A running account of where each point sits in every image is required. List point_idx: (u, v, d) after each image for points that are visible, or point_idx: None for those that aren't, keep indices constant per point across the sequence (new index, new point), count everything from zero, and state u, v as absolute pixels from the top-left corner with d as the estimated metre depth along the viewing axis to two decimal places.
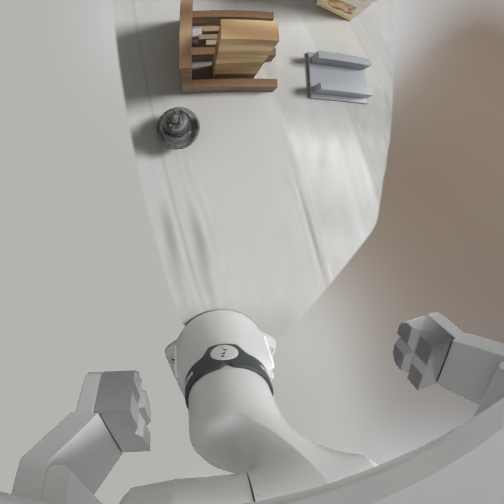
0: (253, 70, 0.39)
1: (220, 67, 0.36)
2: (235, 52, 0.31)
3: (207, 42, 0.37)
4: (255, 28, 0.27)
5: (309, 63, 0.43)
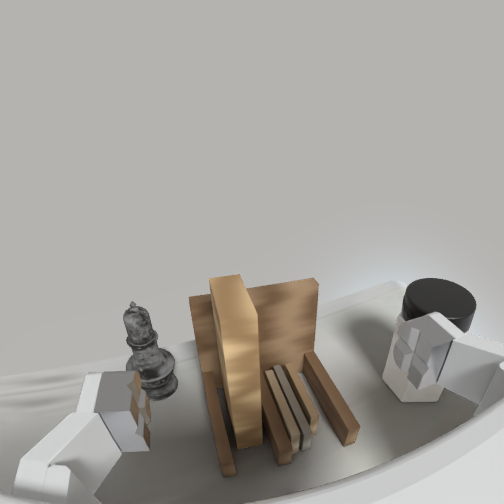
0: (232, 418, 0.25)
1: (222, 373, 0.29)
2: (217, 333, 0.26)
3: (268, 371, 0.32)
4: (233, 297, 0.23)
5: None
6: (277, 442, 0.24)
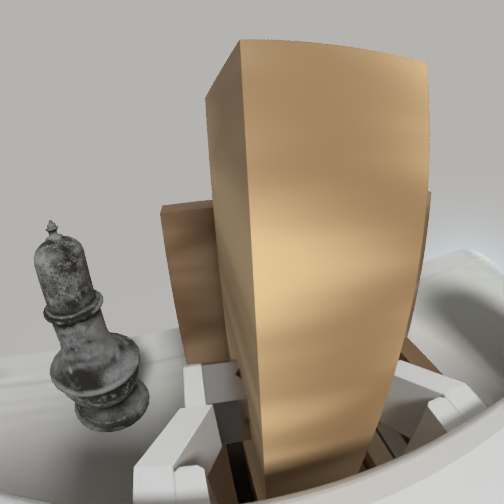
0: None
1: None
2: (223, 260, 0.08)
3: None
4: None
5: None
6: None
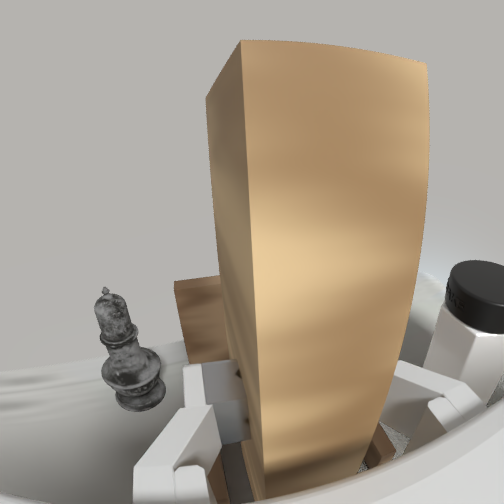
0: None
1: None
2: (223, 260, 0.08)
3: None
4: None
5: None
6: None
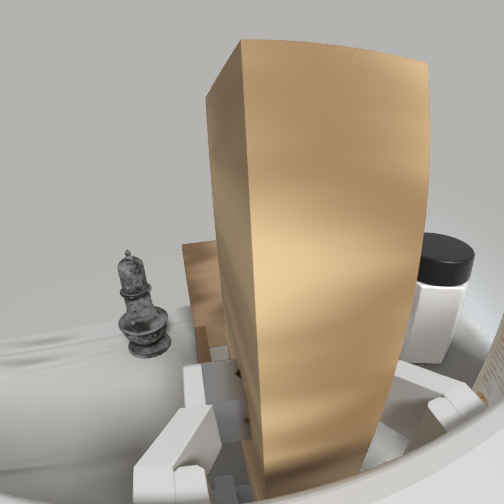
0: None
1: None
2: (223, 260, 0.08)
3: None
4: None
5: None
6: None
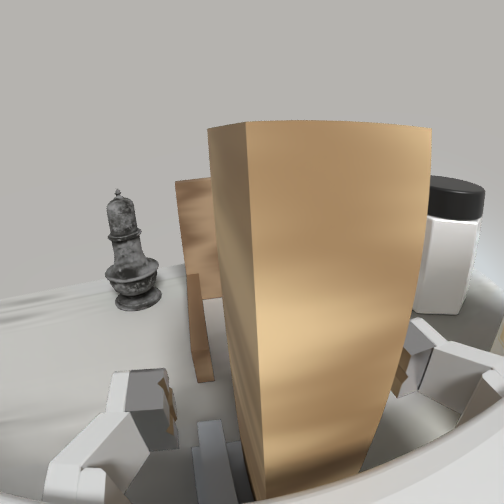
0: None
1: (236, 403, 0.12)
2: (226, 293, 0.08)
3: None
4: None
5: None
6: None
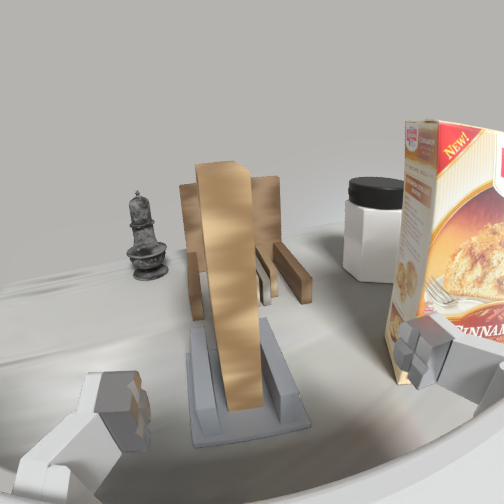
0: None
1: None
2: (202, 234, 0.20)
3: None
4: (221, 167, 0.17)
5: None
6: None
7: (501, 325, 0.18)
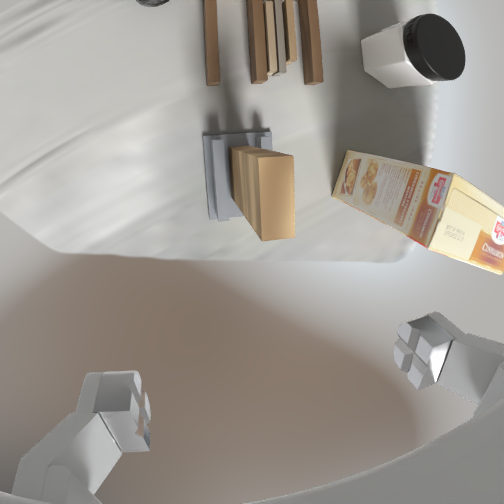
0: (236, 200, 0.33)
1: (236, 157, 0.30)
2: (248, 177, 0.26)
3: (268, 2, 0.27)
4: (279, 206, 0.23)
5: None
6: (257, 71, 0.31)
7: None
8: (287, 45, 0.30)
